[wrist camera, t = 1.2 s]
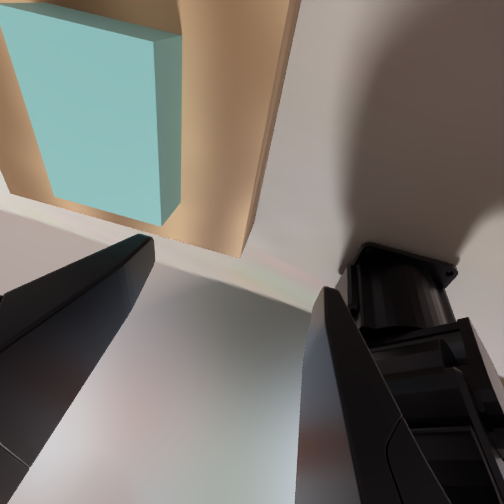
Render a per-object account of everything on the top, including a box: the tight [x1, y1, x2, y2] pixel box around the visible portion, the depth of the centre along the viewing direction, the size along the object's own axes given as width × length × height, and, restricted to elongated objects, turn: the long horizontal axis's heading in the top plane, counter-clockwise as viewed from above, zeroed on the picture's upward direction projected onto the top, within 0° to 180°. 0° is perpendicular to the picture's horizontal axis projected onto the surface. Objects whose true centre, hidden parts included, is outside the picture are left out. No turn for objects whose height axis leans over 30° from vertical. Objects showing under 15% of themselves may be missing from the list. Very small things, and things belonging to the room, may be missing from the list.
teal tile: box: [0, 3, 182, 227], centre depth 14 cm, size 6×8×2 cm
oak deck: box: [0, 0, 301, 258], centre depth 17 cm, size 16×14×4 cm
